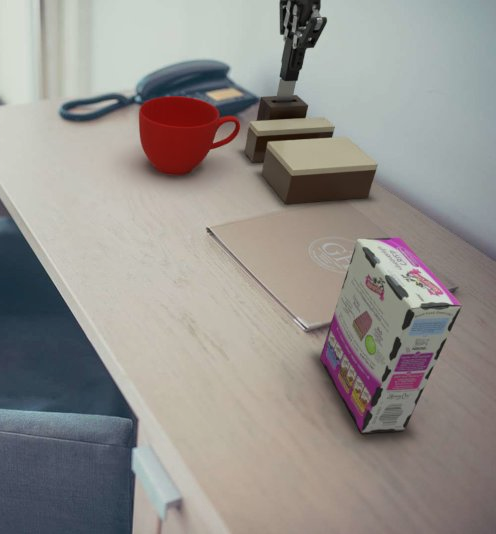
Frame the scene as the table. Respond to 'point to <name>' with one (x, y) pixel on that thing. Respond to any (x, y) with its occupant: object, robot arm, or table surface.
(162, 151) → the ceramic cup
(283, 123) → the cake slice
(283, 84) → the knife
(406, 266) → the candy bar box
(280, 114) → the knife block
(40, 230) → the table surface
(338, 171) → the cake
